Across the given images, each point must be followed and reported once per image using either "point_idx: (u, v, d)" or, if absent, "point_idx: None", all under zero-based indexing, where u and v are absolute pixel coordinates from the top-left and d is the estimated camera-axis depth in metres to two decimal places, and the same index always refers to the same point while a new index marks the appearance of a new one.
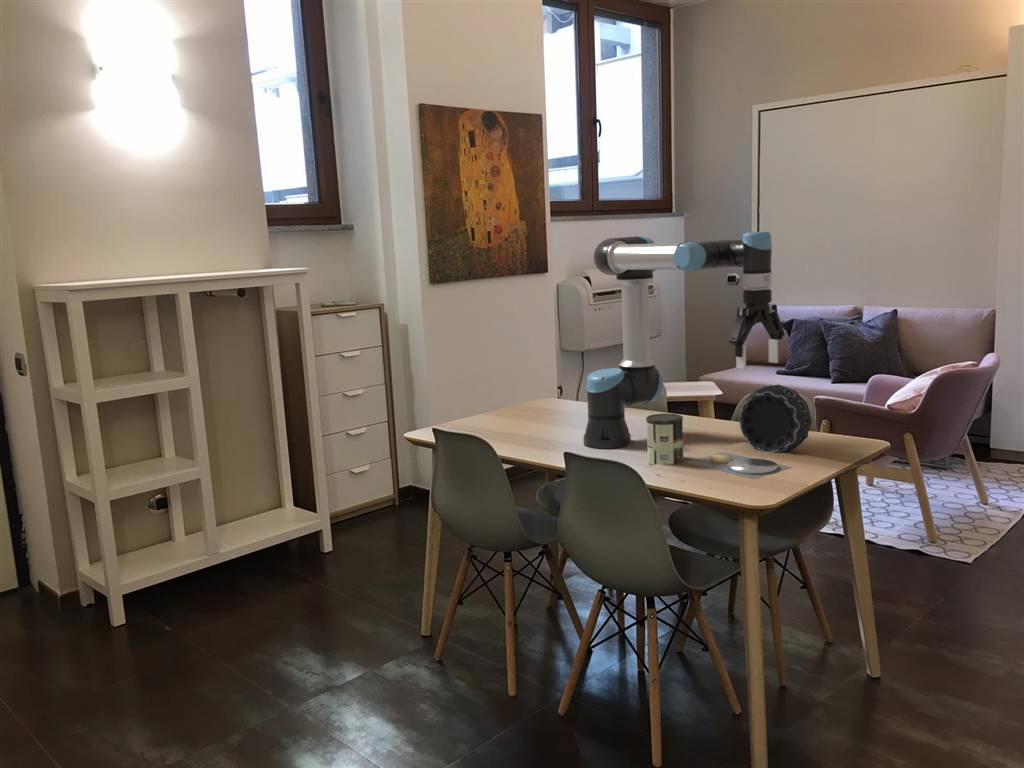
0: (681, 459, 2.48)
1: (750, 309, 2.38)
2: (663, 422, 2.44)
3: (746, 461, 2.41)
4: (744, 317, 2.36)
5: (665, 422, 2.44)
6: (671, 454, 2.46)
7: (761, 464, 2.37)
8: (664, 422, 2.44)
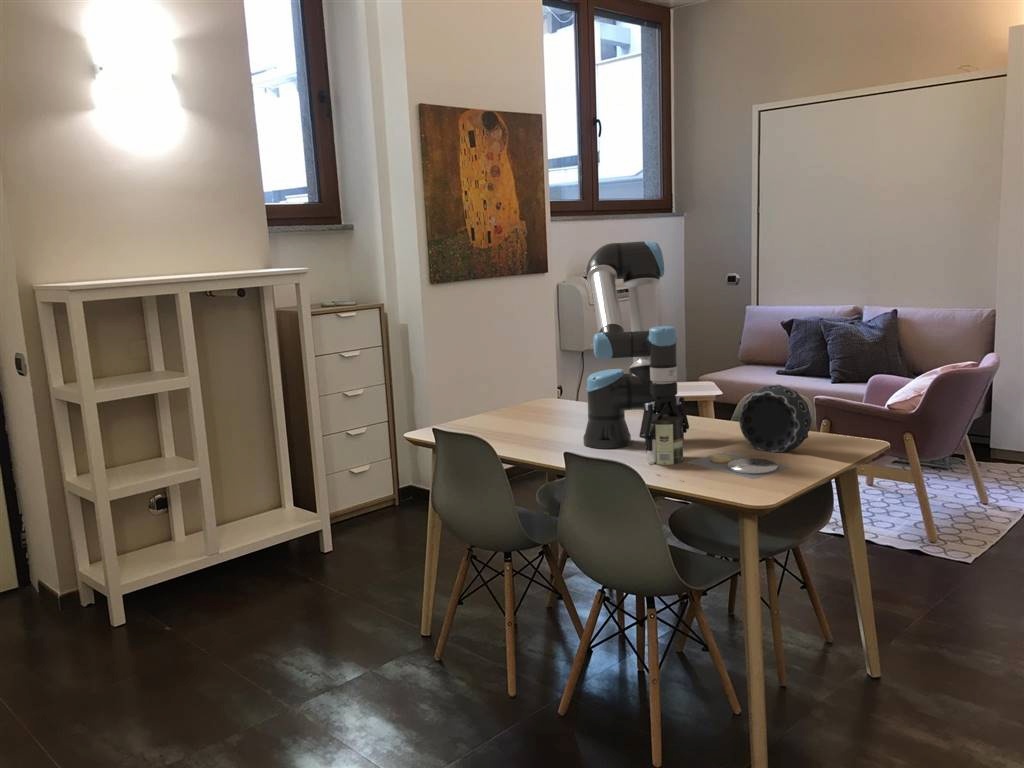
0: (681, 459, 2.48)
1: (656, 402, 2.45)
2: (663, 422, 2.44)
3: (746, 461, 2.41)
4: (650, 412, 2.44)
5: (665, 422, 2.44)
6: (671, 453, 2.46)
7: (761, 464, 2.37)
8: (664, 422, 2.44)
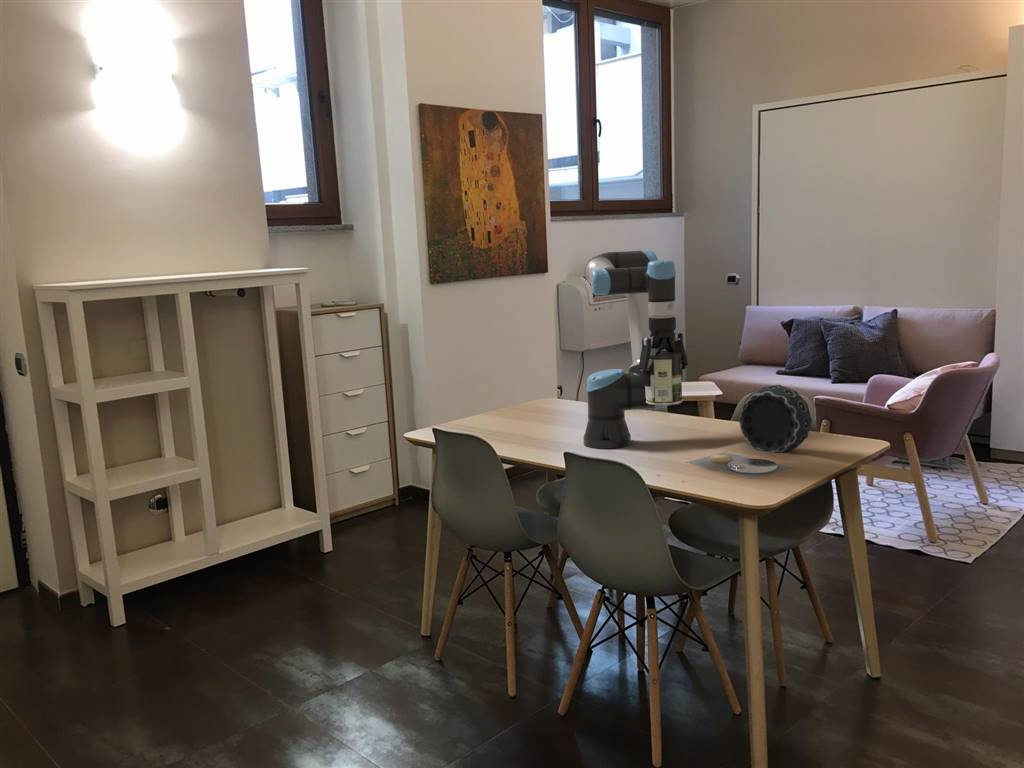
0: (680, 395, 2.45)
1: (654, 337, 2.42)
2: (662, 357, 2.41)
3: (746, 461, 2.41)
4: (649, 347, 2.41)
5: (664, 357, 2.41)
6: (669, 389, 2.43)
7: (761, 464, 2.37)
8: (663, 357, 2.41)
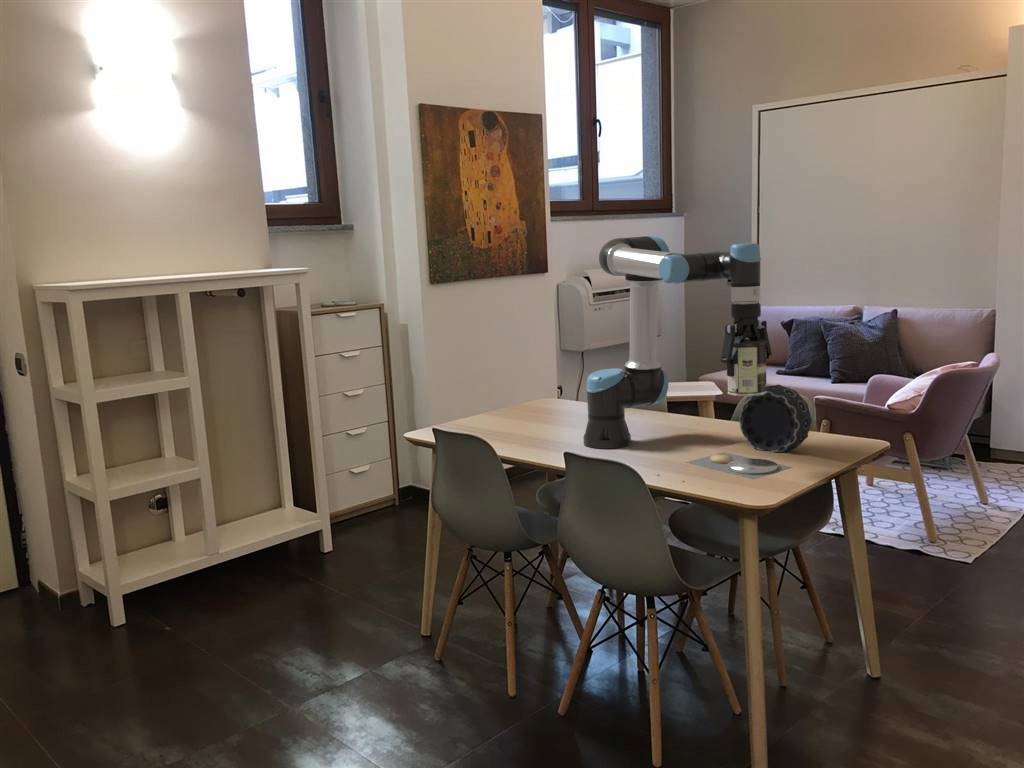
0: (765, 386, 2.32)
1: (738, 324, 2.29)
2: (746, 345, 2.28)
3: (746, 461, 2.41)
4: (733, 334, 2.28)
5: (749, 345, 2.28)
6: (754, 379, 2.29)
7: (761, 464, 2.37)
8: (748, 345, 2.28)
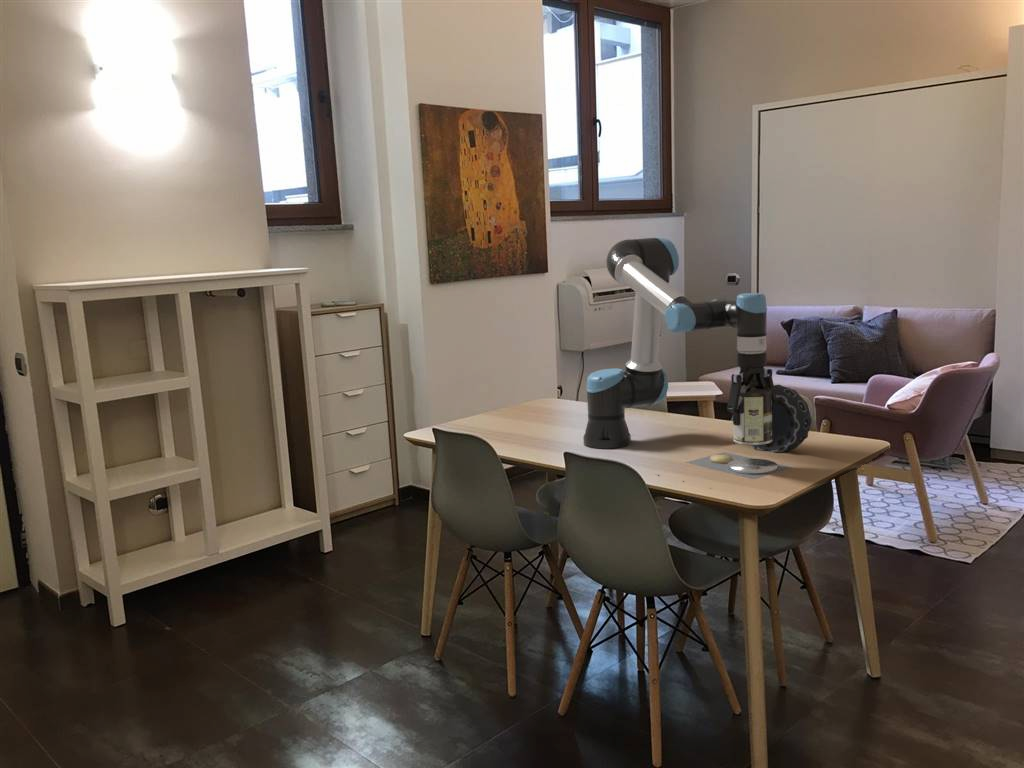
0: (770, 434, 2.33)
1: (744, 374, 2.31)
2: (753, 394, 2.29)
3: (746, 461, 2.41)
4: (739, 384, 2.29)
5: (755, 394, 2.29)
6: (760, 428, 2.31)
7: (761, 464, 2.37)
8: (754, 394, 2.29)
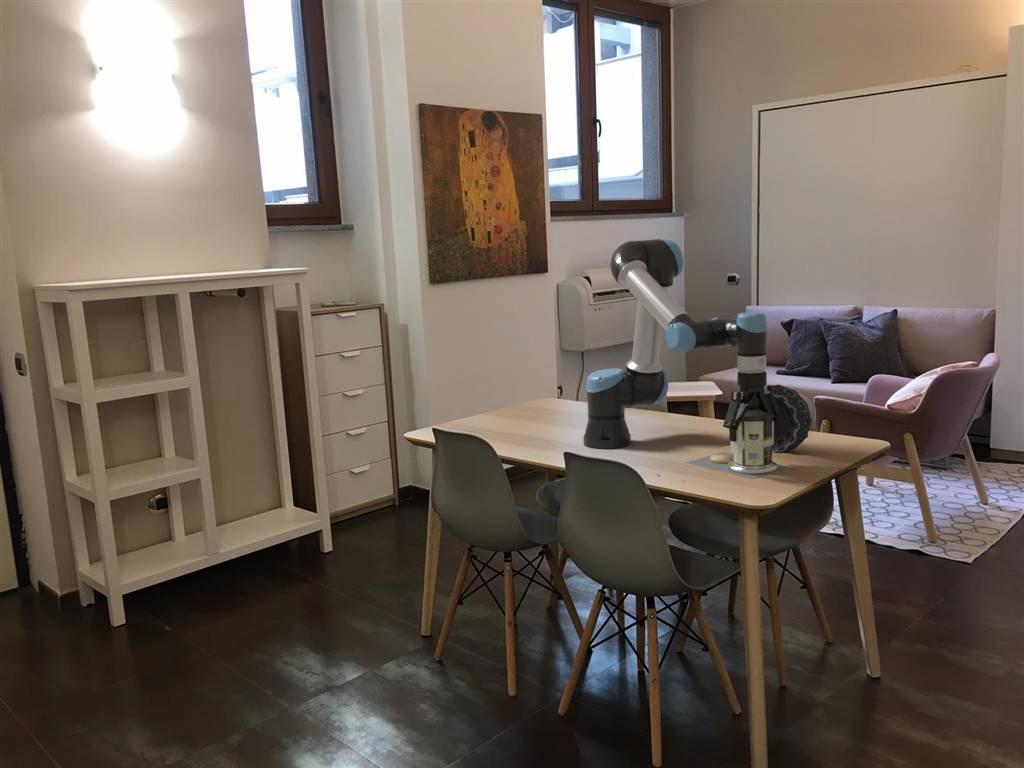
0: (771, 458, 2.35)
1: (745, 392, 2.31)
2: (753, 419, 2.31)
3: None
4: (738, 401, 2.30)
5: (755, 419, 2.31)
6: (761, 452, 2.32)
7: None
8: (754, 419, 2.31)
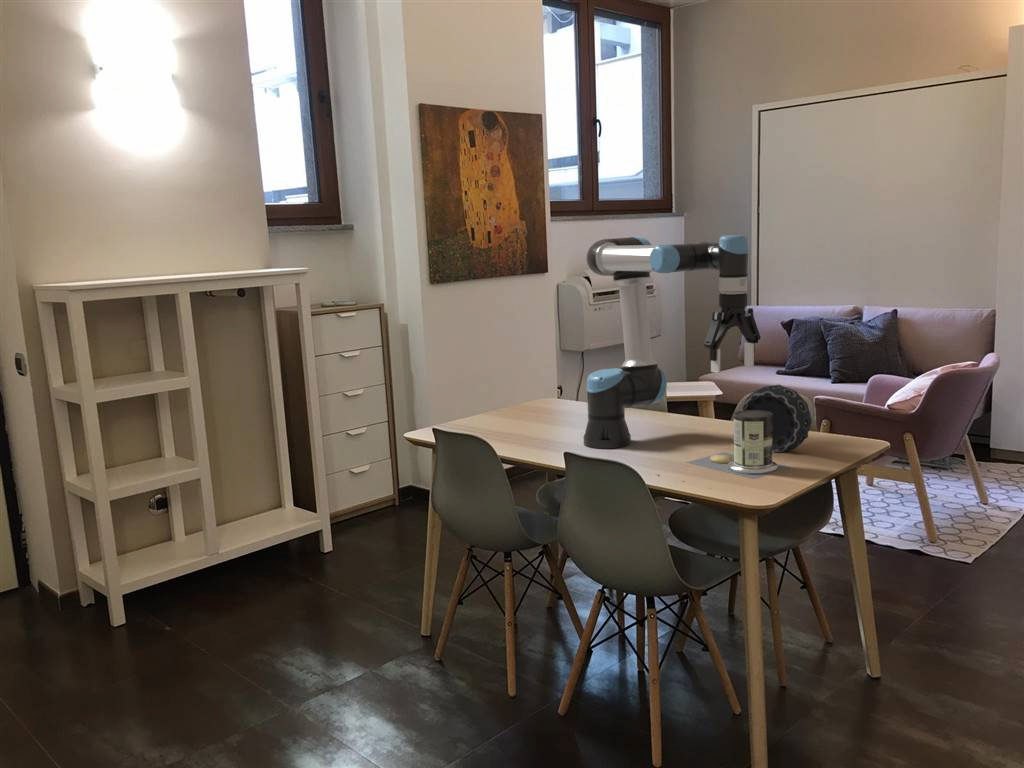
0: (771, 458, 2.35)
1: (725, 313, 2.37)
2: (753, 419, 2.31)
3: None
4: (719, 321, 2.36)
5: (755, 419, 2.31)
6: (761, 452, 2.32)
7: None
8: (754, 419, 2.31)
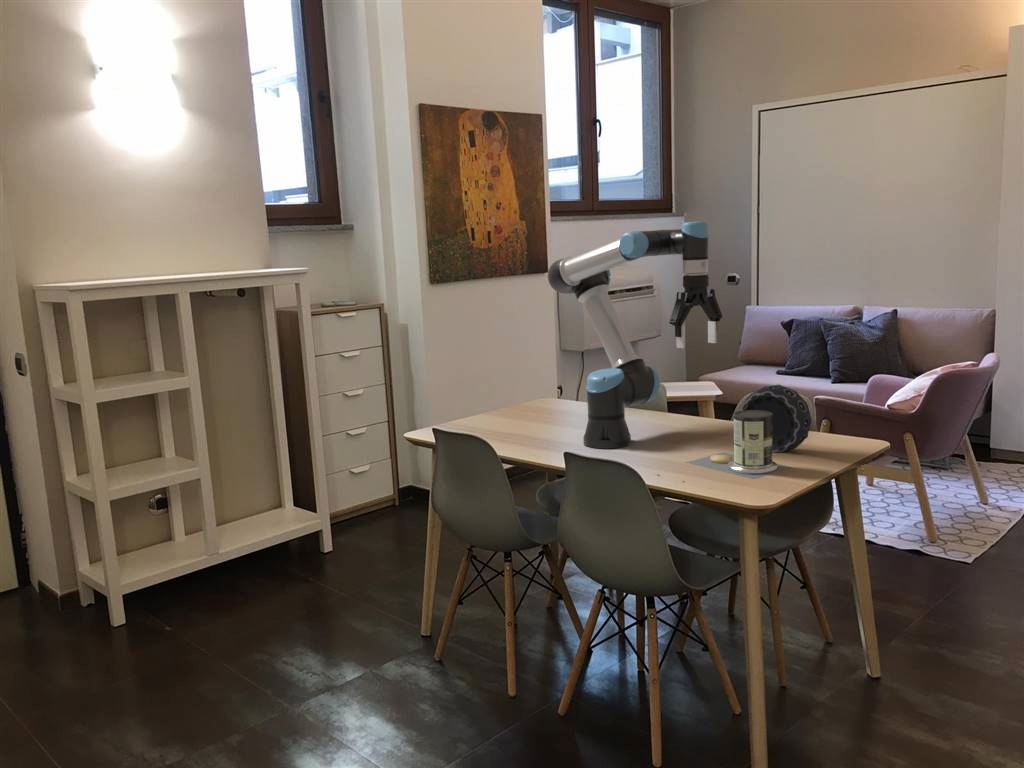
0: (771, 458, 2.35)
1: (688, 293, 2.58)
2: (753, 419, 2.31)
3: None
4: (682, 300, 2.56)
5: (755, 419, 2.31)
6: (761, 452, 2.32)
7: None
8: (754, 419, 2.31)
